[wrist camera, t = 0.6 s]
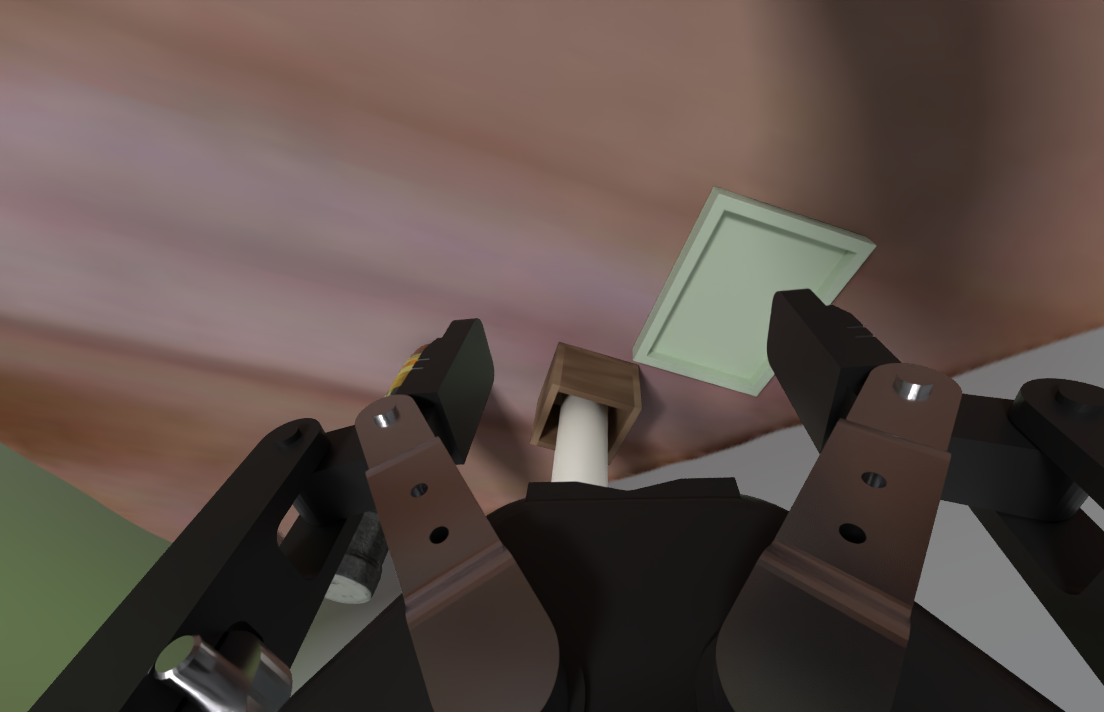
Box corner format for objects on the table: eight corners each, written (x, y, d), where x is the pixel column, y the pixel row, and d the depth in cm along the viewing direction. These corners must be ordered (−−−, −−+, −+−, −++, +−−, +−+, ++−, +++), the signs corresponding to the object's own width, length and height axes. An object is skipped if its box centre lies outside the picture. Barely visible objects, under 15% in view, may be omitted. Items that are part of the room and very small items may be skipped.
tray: (713, 186, 28) (719, 193, 27) (865, 236, 29) (876, 245, 28) (632, 349, 37) (633, 360, 35) (751, 384, 38) (756, 396, 36)
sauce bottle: (417, 329, 38) (279, 544, 22) (484, 355, 39) (399, 578, 23) (403, 380, 42) (279, 594, 26) (465, 402, 43) (381, 622, 27)
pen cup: (559, 341, 37) (552, 383, 33) (638, 364, 38) (642, 409, 33) (538, 399, 41) (529, 443, 37) (609, 419, 42) (609, 465, 38)
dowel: (570, 365, 38) (558, 478, 28) (614, 377, 38) (616, 494, 28) (558, 397, 40) (542, 511, 30) (599, 408, 40) (596, 525, 31)
